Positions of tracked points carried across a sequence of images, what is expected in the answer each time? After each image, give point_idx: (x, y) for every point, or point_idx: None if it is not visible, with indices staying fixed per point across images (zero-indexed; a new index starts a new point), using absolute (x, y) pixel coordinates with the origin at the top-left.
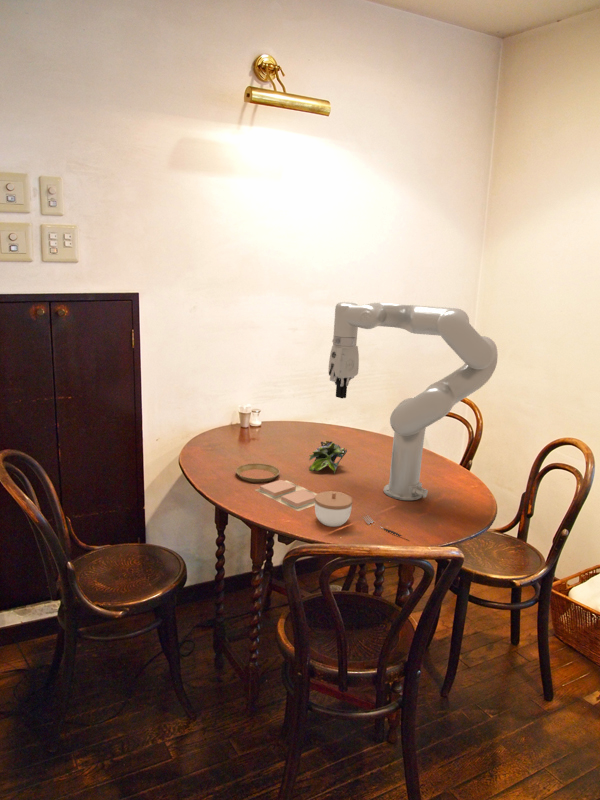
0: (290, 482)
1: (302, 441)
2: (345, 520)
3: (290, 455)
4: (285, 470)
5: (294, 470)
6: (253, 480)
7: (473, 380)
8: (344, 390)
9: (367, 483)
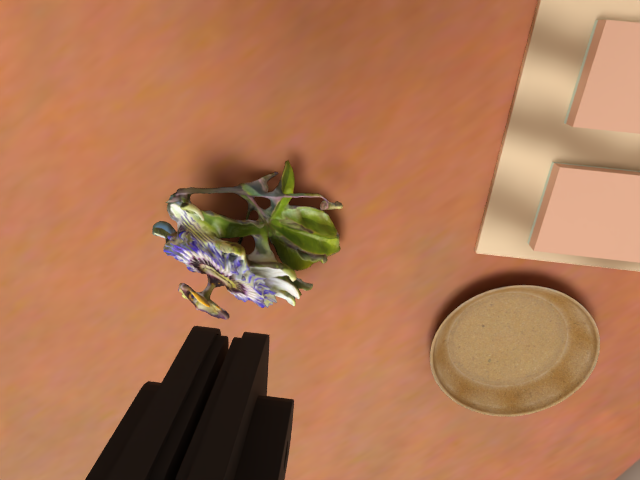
0: (485, 229)
1: None
2: None
3: None
4: (380, 317)
5: (355, 297)
6: (583, 319)
7: None
8: (209, 422)
9: (236, 6)
